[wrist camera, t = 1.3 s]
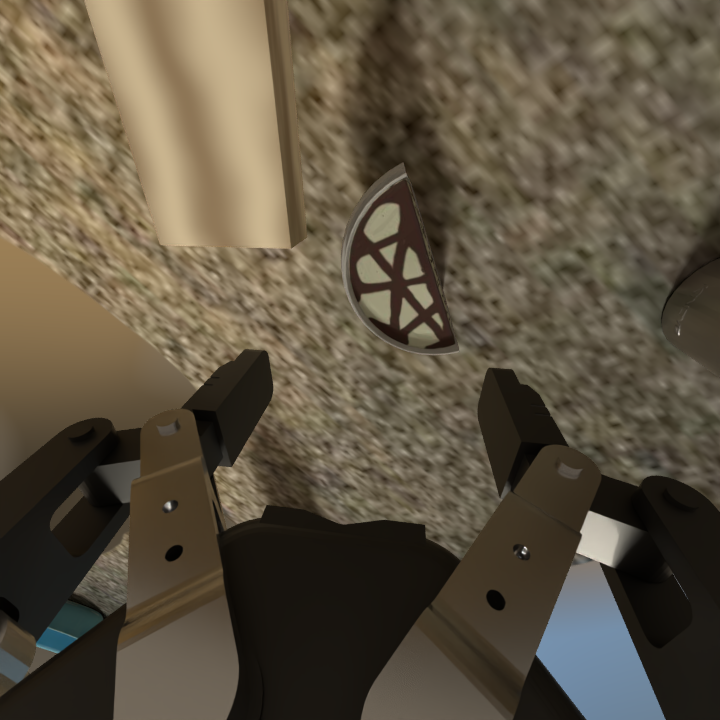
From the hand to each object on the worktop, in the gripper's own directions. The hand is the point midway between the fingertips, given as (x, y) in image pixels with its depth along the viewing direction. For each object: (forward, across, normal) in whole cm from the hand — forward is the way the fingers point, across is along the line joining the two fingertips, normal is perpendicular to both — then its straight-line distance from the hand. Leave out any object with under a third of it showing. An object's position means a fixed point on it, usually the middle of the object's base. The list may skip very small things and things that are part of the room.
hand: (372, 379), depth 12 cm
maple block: (+20, +13, -9) cm, 26 cm away
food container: (+20, 0, 0) cm, 20 cm away
